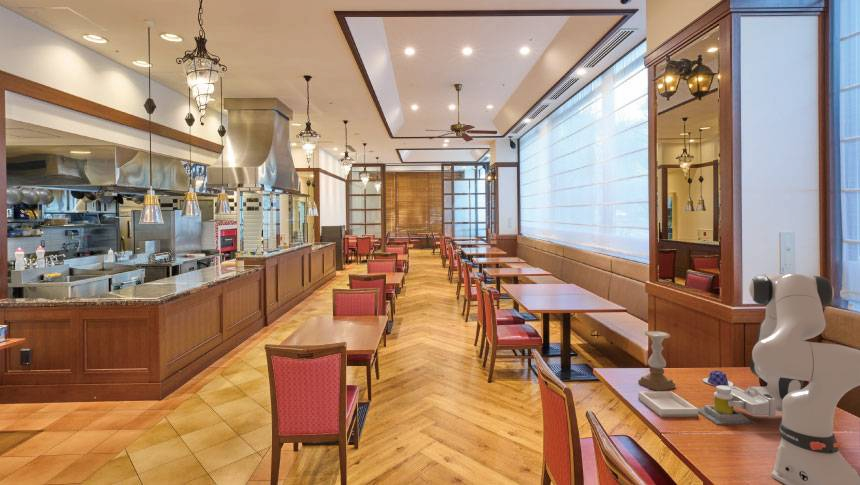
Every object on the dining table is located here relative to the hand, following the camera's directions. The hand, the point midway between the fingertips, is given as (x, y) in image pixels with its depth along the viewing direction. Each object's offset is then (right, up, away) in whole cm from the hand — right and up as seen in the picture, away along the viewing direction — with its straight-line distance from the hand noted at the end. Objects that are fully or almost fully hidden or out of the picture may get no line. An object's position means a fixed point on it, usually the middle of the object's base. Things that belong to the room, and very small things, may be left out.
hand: (721, 399), depth 168 cm
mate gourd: (+39, -6, +28) cm, 48 cm away
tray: (-16, -6, +9) cm, 19 cm away
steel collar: (+1, -7, 0) cm, 7 cm away
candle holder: (-7, -6, +33) cm, 34 cm away
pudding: (+22, -6, +37) cm, 43 cm away
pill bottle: (+1, -7, 0) cm, 7 cm away
